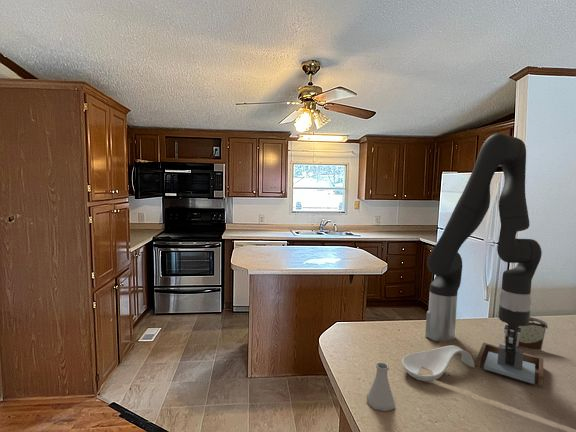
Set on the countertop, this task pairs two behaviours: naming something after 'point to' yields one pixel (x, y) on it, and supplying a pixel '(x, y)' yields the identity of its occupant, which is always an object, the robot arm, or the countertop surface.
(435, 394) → the countertop surface
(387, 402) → the flask
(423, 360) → the spoon rest
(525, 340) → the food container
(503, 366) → the cover plate
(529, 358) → the open-fronted box
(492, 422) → the countertop surface
